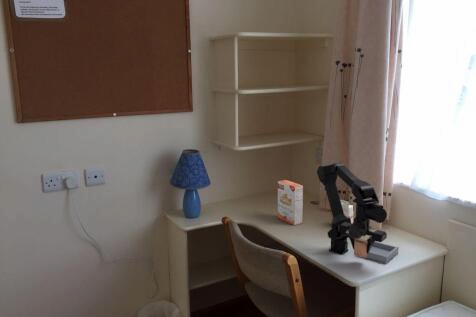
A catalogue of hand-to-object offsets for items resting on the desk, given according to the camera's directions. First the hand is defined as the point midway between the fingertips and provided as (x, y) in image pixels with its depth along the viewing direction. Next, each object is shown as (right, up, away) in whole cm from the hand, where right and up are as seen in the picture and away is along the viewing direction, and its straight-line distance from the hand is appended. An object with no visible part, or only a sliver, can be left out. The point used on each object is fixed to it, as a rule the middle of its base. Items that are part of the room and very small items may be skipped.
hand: (360, 251), depth 179 cm
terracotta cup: (0, -1, 0) cm, 1 cm away
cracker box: (-23, +5, +51) cm, 57 cm away
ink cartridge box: (+3, +3, +42) cm, 43 cm away
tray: (+10, -3, +10) cm, 14 cm away
